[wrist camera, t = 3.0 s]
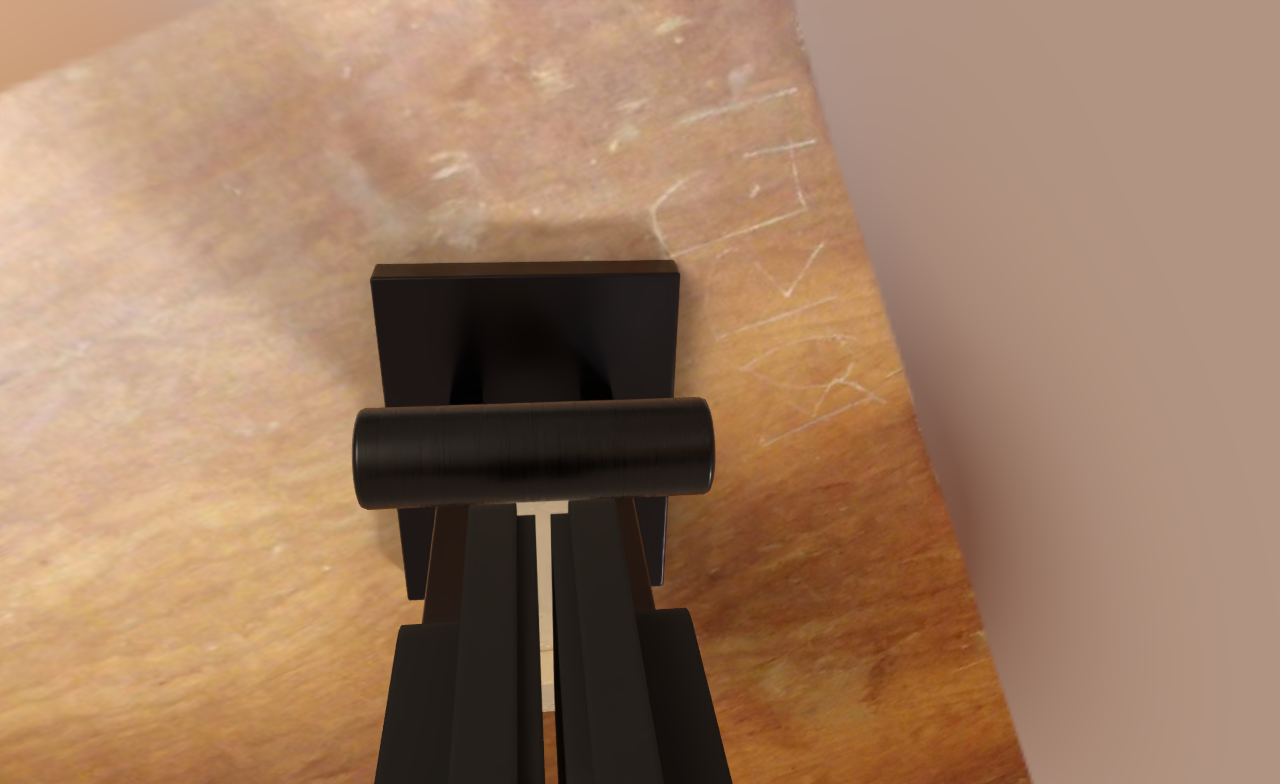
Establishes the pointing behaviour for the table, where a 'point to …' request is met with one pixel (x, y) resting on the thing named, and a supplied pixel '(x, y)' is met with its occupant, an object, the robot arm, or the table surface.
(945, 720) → the table surface
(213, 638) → the table surface
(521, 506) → the lever handle
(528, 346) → the lever stand
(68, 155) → the table surface
